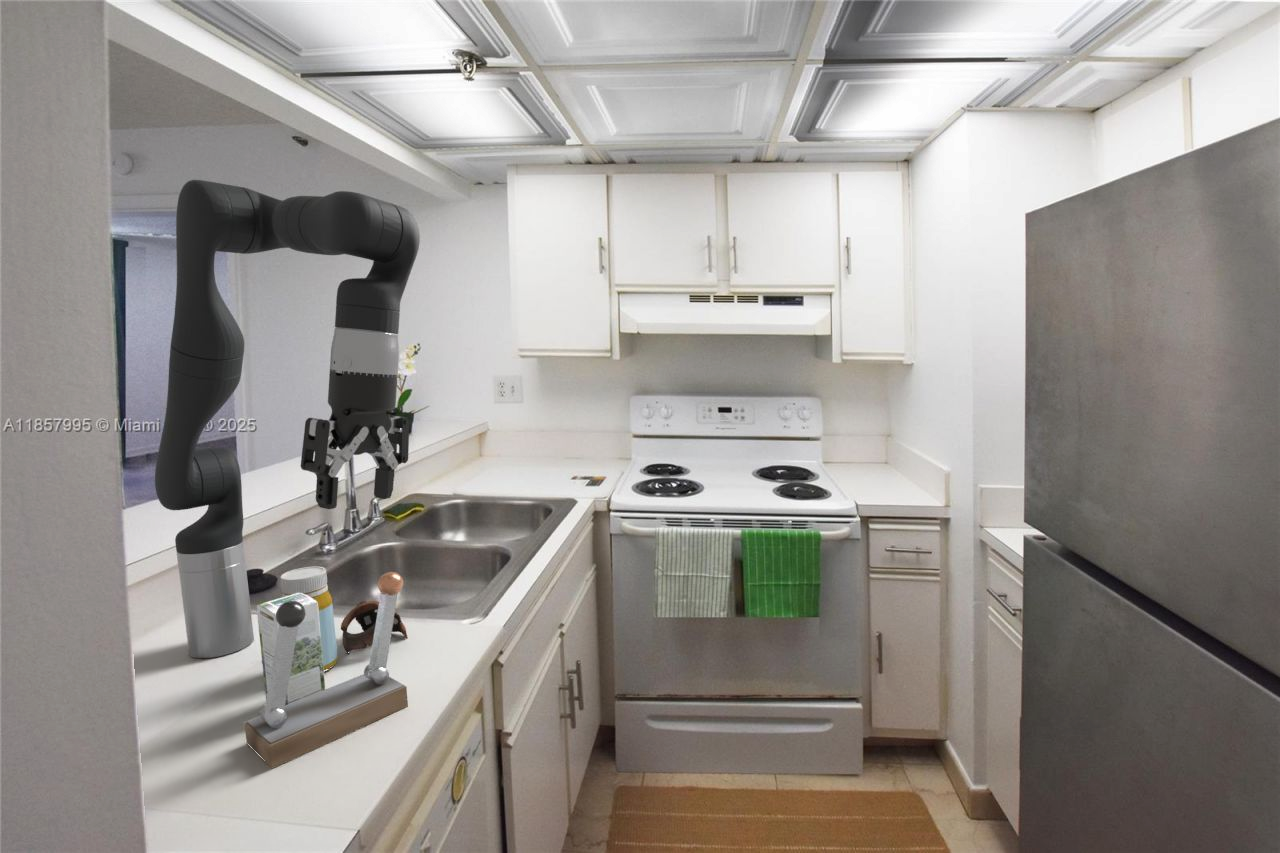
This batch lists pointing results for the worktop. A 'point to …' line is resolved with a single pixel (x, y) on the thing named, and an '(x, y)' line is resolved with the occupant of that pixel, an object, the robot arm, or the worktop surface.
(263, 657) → the syrup box
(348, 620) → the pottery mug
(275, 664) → the lever black
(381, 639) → the lever terracotta
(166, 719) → the worktop surface
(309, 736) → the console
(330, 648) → the bottle
